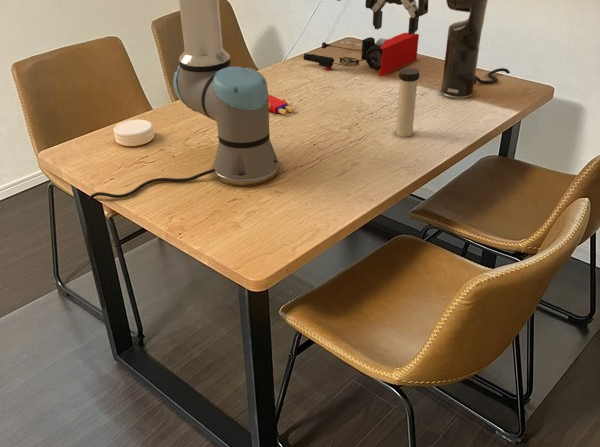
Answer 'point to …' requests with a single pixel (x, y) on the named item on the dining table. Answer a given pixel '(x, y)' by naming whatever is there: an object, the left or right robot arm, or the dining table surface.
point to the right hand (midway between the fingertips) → (394, 31)
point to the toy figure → (278, 105)
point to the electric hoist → (377, 53)
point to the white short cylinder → (134, 132)
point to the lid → (409, 74)
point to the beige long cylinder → (406, 108)
